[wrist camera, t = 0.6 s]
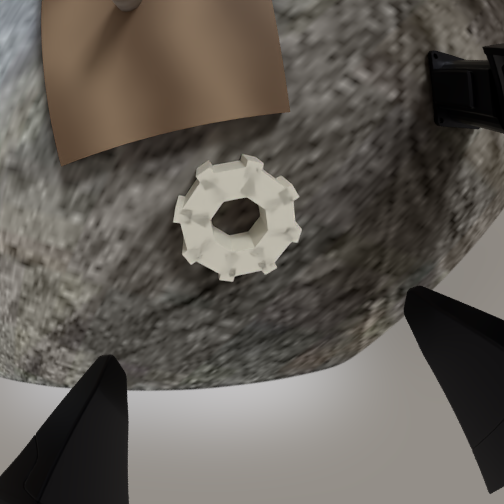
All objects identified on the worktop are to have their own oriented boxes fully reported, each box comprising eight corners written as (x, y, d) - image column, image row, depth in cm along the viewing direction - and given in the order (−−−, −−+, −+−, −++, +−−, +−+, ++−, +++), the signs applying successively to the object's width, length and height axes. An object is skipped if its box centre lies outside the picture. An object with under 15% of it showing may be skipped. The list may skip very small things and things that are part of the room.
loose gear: (282, 147, 17) (294, 152, 15) (293, 249, 21) (304, 266, 19) (167, 169, 17) (162, 177, 15) (193, 270, 20) (192, 289, 18)
